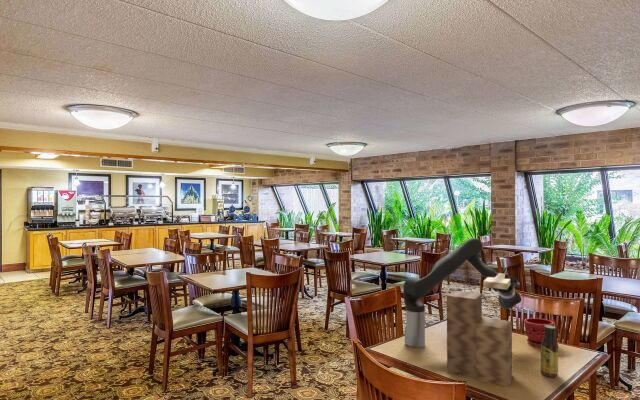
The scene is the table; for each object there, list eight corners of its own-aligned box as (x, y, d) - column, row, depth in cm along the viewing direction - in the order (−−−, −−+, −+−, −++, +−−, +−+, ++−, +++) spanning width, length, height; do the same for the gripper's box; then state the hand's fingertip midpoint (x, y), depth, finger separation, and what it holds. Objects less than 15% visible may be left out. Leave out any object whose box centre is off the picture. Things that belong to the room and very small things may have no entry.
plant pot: (554, 343, 196) (554, 319, 196) (554, 351, 185) (553, 326, 185) (525, 338, 203) (525, 315, 203) (523, 346, 192) (523, 321, 192)
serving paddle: (483, 287, 162) (483, 281, 162) (492, 277, 180) (492, 272, 180) (507, 289, 157) (507, 283, 157) (513, 279, 176) (513, 274, 176)
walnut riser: (447, 372, 161) (446, 295, 161) (454, 363, 171) (454, 290, 171) (508, 386, 148) (507, 302, 149) (512, 375, 158) (511, 296, 159)
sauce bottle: (537, 371, 162) (536, 324, 162) (551, 371, 162) (550, 323, 163) (547, 378, 155) (547, 328, 155) (562, 378, 156) (561, 328, 156)
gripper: (490, 279, 190) (484, 266, 178) (522, 282, 183) (518, 268, 170) (489, 294, 187) (483, 281, 175) (521, 298, 179) (518, 284, 167)
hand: (500, 275), depth 173 cm, fingers closed on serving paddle, 3 cm apart
